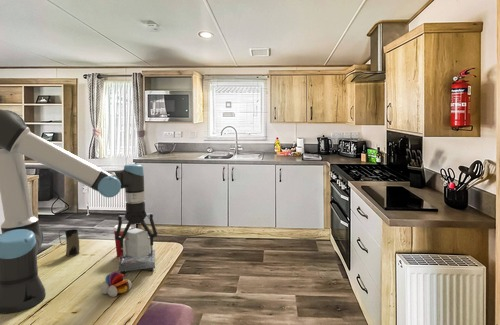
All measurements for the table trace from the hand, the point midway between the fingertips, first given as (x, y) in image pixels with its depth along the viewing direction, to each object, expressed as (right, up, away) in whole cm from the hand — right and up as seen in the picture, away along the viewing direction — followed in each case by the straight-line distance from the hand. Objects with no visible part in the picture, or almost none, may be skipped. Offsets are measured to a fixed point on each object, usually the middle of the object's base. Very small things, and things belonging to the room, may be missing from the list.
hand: (137, 253), depth 143 cm
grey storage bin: (0, -5, +1) cm, 5 cm away
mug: (-36, -4, +14) cm, 38 cm away
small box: (0, -1, 0) cm, 1 cm away
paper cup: (-10, -4, +12) cm, 17 cm away
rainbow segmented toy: (-1, -8, -21) cm, 23 cm away
